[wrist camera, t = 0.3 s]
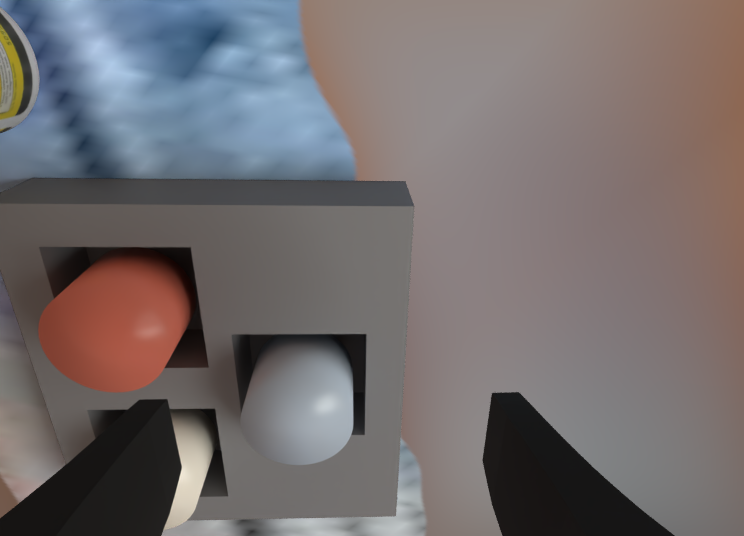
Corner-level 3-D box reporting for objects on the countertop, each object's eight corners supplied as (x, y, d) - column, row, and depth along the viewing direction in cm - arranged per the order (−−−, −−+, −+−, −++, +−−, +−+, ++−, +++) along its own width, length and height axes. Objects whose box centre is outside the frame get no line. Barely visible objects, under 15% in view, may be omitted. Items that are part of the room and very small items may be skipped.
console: (391, 464, 26) (395, 516, 23) (114, 469, 25) (85, 522, 22) (405, 181, 19) (413, 206, 16) (32, 178, 19) (-23, 203, 16)
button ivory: (221, 466, 23) (203, 530, 20) (133, 468, 23) (101, 532, 20) (211, 398, 21) (189, 456, 18) (115, 399, 21) (77, 458, 18)
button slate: (352, 406, 22) (353, 464, 19) (259, 407, 21) (245, 465, 18) (352, 327, 20) (353, 378, 17) (252, 328, 20) (234, 379, 17)
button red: (202, 339, 20) (176, 391, 17) (99, 339, 20) (56, 392, 17) (188, 246, 18) (157, 287, 15) (75, 246, 18) (22, 288, 15)
